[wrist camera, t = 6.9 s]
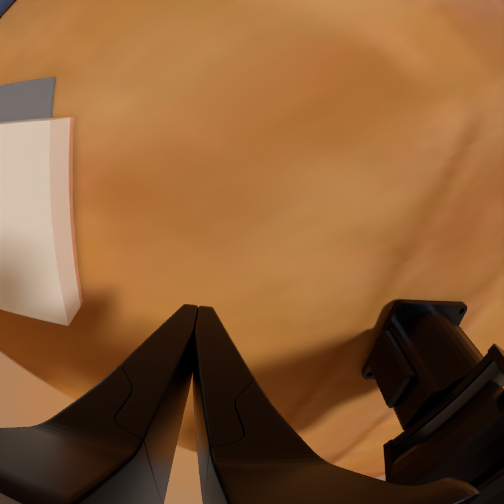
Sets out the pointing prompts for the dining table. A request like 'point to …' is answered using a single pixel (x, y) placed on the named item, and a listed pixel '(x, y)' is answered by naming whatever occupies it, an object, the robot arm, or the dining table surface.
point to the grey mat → (27, 100)
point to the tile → (38, 220)
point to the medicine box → (5, 5)
